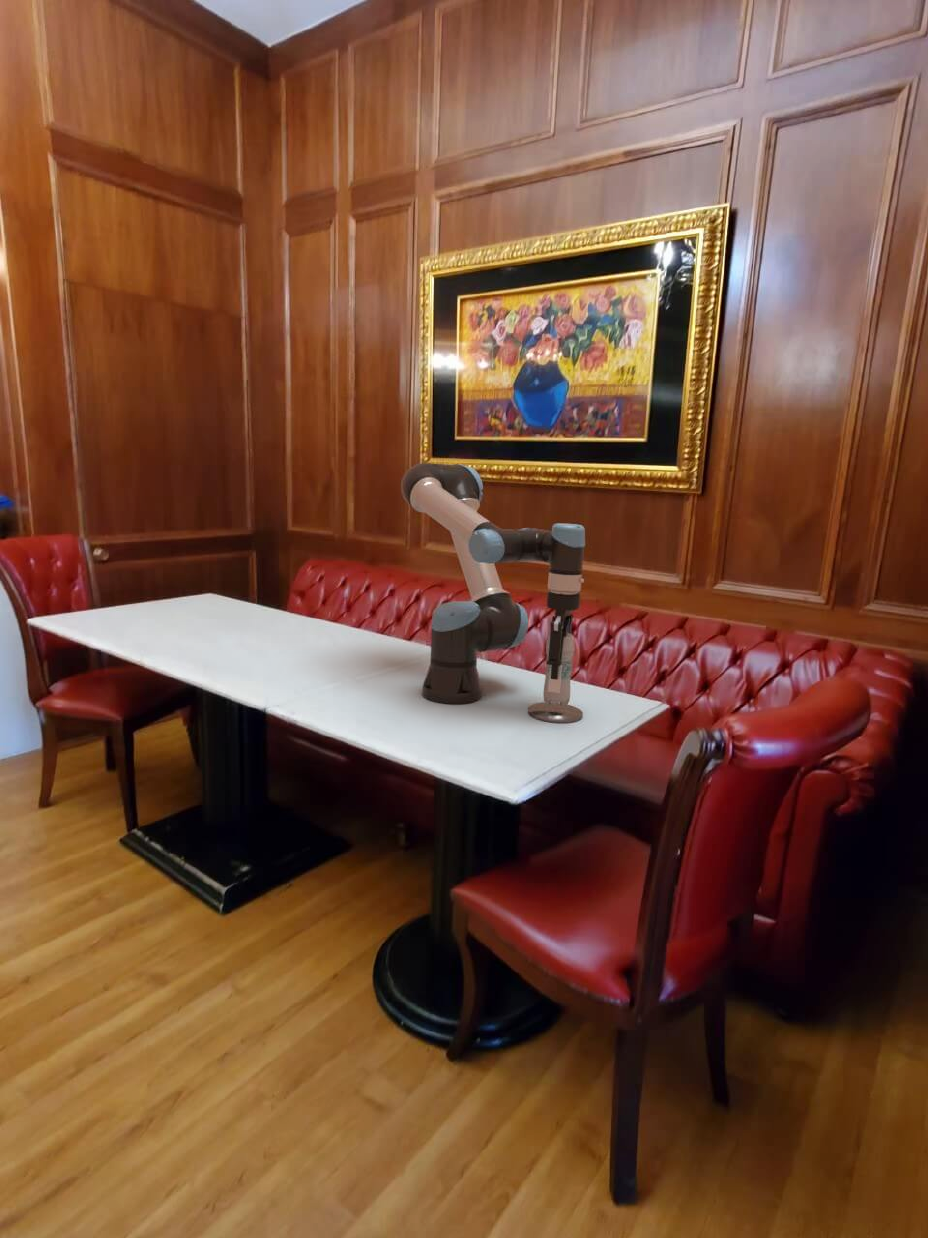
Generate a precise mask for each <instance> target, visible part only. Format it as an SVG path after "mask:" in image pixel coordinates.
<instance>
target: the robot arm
mask: <svg viewBox="0 0 928 1238" xmlns="http://www.w3.org/2000/svg"><path fill="white" fill-rule="evenodd" d="M400 483H401V484H400V487H401V488H400V490H401V494H402V495H401V496H402V497H403V499H404V501H405V502H406V503H407V504H408V506H409V507H411V508H412V509H414V511H416V512H419V513H425V514H426V515H428V516H429V517H431V518H432V519H433V520H435V521H436V522H437V523H439V524H440V525H441V526H443V527H444V528H445V529H446V530H448V531H449V532H450V534H451V538H452V541H453V544H454V548H455V551H456V555H457V557H458V561H459V563H460V567H461V569H462V573H463V576H464V579H465V582H466V585H467V588H468V592H469V595H470V598H471V600H469V601H468V600H467V601H466V600H462V601H451V602H450V601H449V602H444V603H441V604H440V605H437V606H436V607H435V608H434V610H433V611H432V616H431V617H432V618H431V623H430V628H431V636H430V637H431V639H430V665H429V667H428V669H427V673H426V675H425V678H424V681H423V684H422V687H421V689H422V692H421V693H422V696H423V697H424V698H425V699H427V700H429V701H432V702H436V703H443V704H450V705H452V704H453V705H456V704H457V705H458V704H459V705H461V704H469V703H471V704H472V703H475V702H477V701H480V700H481V698H482V697H483V686H482V682H481V679H480V674H479V671H478V668H477V663H478V662H477V660H478V653H483V652H491V651H498V650H502V651H504V650H508V649H512V648H516V647H518V646H519V645H521V644H522V643H523V642H524V640H525V639H526V636H527V632H528V630H529V617H528V613H527V610H526V609H525V608H524V606H523V605H521V604H519V603H516V602H514V601H513V598H512V595H511V593H510V592H509V591H507V590H506V589H503V586H502V583H501V580H500V577H499V574H498V571H497V569H496V566H495V565H496V564H497V563H514V562H515V563H516V562H519V563H521V562H541V563H546V564H549V570H548V581H547V589H548V592H547V598H546V606H547V608H549V609H550V610H554V611H555V612H554V616H552V618H551V622H550V633H549V634H550V645H549V656H548V662H547V661H546V662H545V663H546V664H548V665H550V669H549V682H548V692H555V693H560V685H561V672H562V665H561V659H562V650H563V640H564V637H566V636H567V631H568V626H569V632H568V633H570V634H571V635H572V628H573V627H572V623H573V617H574V614H573V613H571V611H572V612H573V611H578V610H579V609H580V605H581V604H580V603H581V593H580V592H581V591H582V589H581V588H582V583H584V582H585V579H584V578H582V576H583V575H582V574H583V564H584V554H585V553H584V552H585V547H586V531H585V530H586V528H585V527H584V526H583V525H581V524H576V523H559V522H558V523H554V524H553V525H552V528H551V530H545V529H539V528H535V527H533V528H532V527H525V528H520V529H515V528H514V529H510V528H508V529H507V528H506V529H503V528H500V527H499V526H497V525H495V524H494V523H493V522H491V521H490V520H489V519H487V518H486V517H484V516H483V515H481V514H479V513H478V510H479V509H480V507H481V503H480V502H481V501H482V499H483V495H484V492H482V491H483V490H484V486H483V481H482V478H481V476H480V474H479V473H478V472H477V470H476V469H474V468H473V467H471V466H468V465H463V464H459V463H457V464H443V463H431V462H421V463H420V462H419V463H417V464H415V465H413V466H412V467H410V468H409V469H407V470H406V472H405V473H404V475H403V477H402V479H401V482H400ZM495 563H496V564H495ZM562 632H563V633H562Z"/></svg>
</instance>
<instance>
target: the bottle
mask: <svg viewBox="0 0 928 1238" xmlns="http://www.w3.org/2000/svg"><path fill="white" fill-rule="evenodd" d="M568 632H569V626H568V631H567V636H566V637H564V640H563V650H562V659H561V665H562V672H561V685H560V693H555V692H548V682H549V669H550V665H548V664H546V665H545V679H544V685H543V696H542V697H543V702H546V703H547V704H548V705H551V702H553V706H557V703H560V706H564V705H567V704H568V705H569V702H570V700H571V677H572V667H573V666H572V665H573V657H574V655H575V653H574V652H575V650H576V649H575V648H576V647H575V637H574V634H572V633H571V634H570V633H568ZM562 633H563V632H562ZM546 640H547V641H546V645H545V650H546V651H545V654H546V662H548V656H549V645H550V633H549V634H548V635H547V639H546Z"/></svg>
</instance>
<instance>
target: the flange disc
mask: <svg viewBox="0 0 928 1238" xmlns="http://www.w3.org/2000/svg"><path fill="white" fill-rule="evenodd" d="M527 714H528V715H529V716H530V717H532V718H533V719H535V720H538V721H542V722H545V723H552V724H572V723H576V722H579V721H581V720H582V719H583V715H584V713H583V711H582V710H581V708H579V707H576V706H575V705H572V704H571V705H570V704H569V703H568V704H567V705H564V706H560V702H559V703H557V706H553V702H551V705H548V704H547V703H546V702H545V701H543V702H536V703H532V704H530V705H529V706H528V707H527Z"/></svg>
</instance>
